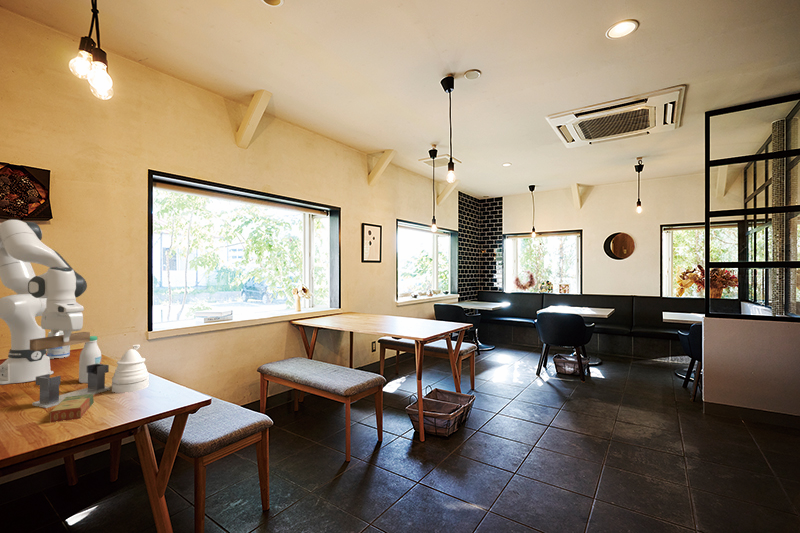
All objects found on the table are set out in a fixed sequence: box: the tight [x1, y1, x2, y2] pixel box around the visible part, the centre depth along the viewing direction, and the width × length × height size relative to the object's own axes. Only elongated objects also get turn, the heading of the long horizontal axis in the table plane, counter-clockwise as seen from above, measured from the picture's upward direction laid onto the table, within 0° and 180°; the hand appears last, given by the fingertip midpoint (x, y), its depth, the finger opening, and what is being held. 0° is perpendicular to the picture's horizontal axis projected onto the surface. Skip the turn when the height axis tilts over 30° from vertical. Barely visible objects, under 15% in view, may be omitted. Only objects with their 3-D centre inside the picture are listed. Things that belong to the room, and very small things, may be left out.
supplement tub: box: [46, 330, 71, 360], centre depth 208 cm, size 10×10×15 cm
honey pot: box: [111, 344, 150, 394], centre depth 158 cm, size 13×13×18 cm
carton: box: [49, 394, 95, 423], centre depth 131 cm, size 8×16×4 cm, turn 28°
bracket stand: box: [32, 363, 111, 409], centre depth 146 cm, size 8×22×10 cm, turn 161°
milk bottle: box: [78, 335, 102, 384], centre depth 167 cm, size 8×8×20 cm
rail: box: [30, 331, 91, 351], centre depth 148 cm, size 4×18×4 cm, turn 160°
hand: (61, 341), depth 148 cm, fingers closed on rail, 4 cm apart
